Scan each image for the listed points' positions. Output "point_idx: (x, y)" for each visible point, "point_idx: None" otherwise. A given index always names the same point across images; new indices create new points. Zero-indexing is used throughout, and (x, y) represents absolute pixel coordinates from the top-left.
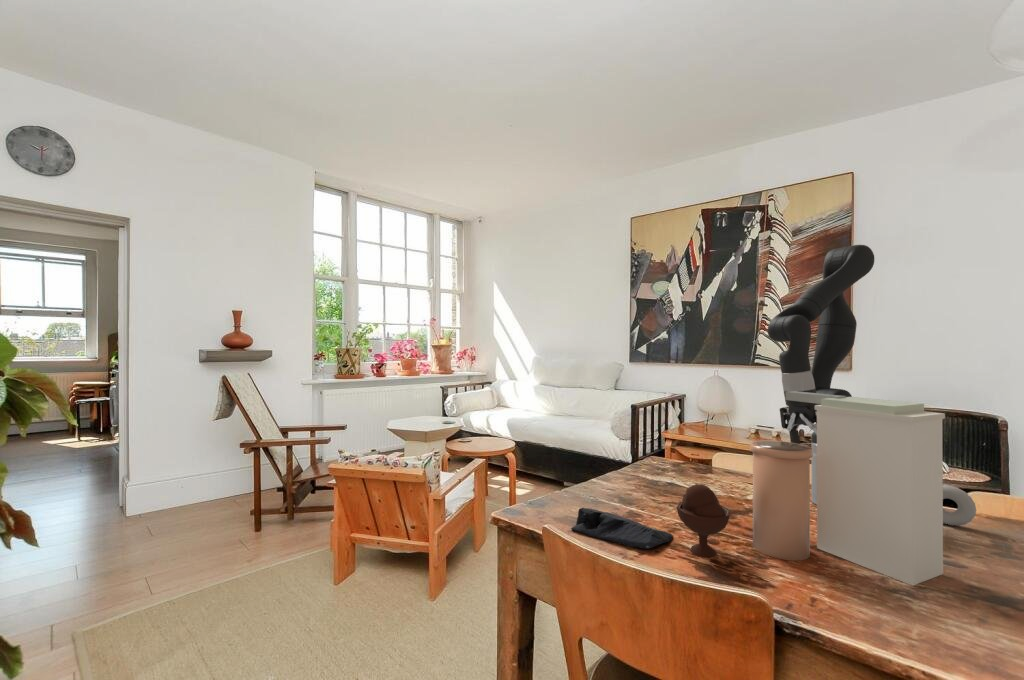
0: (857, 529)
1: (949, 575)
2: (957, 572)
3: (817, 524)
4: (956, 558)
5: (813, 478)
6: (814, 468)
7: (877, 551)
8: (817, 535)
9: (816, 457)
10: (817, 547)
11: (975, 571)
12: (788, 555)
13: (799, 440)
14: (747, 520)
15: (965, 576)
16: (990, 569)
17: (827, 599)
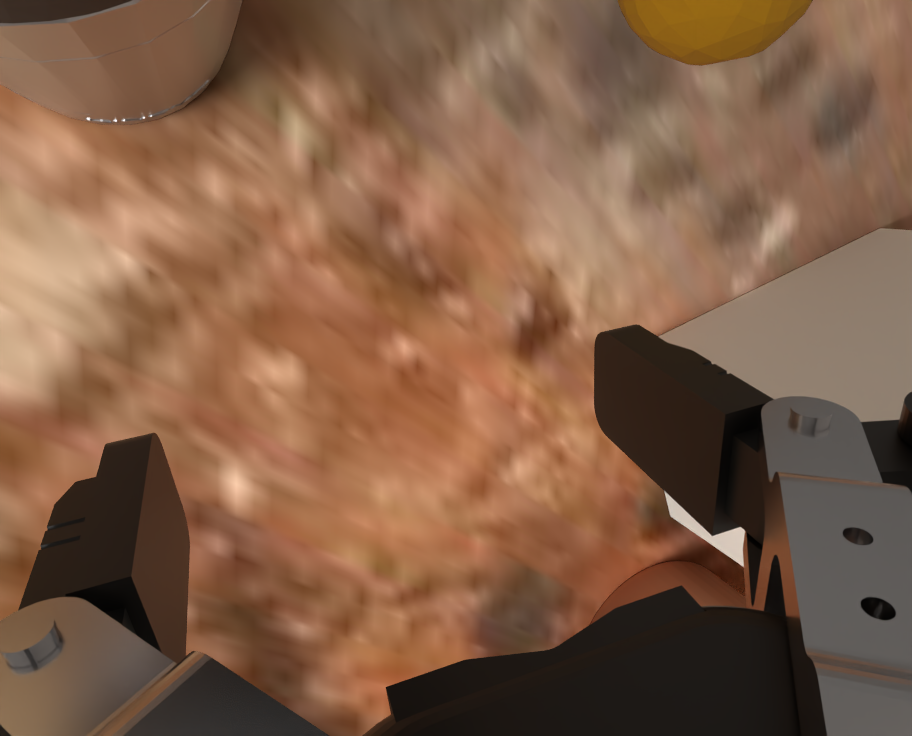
0: None
1: (888, 213)
2: (884, 162)
3: (739, 561)
4: (826, 36)
5: (46, 98)
6: (47, 88)
7: None
8: (705, 538)
9: (57, 65)
10: (673, 516)
11: (895, 86)
12: None
13: (149, 458)
14: (388, 669)
15: (903, 165)
16: (901, 6)
17: None
